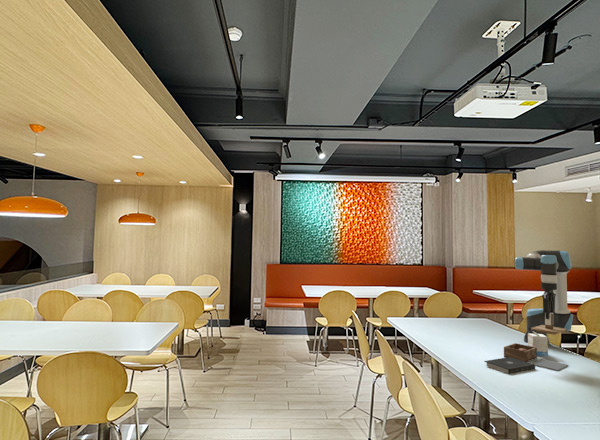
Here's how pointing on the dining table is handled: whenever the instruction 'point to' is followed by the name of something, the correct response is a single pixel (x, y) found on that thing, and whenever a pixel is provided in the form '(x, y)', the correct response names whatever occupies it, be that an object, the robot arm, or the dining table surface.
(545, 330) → the lid
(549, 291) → the robot arm
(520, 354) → the crate
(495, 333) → the dining table surface
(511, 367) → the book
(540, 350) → the ink box
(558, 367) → the mat
